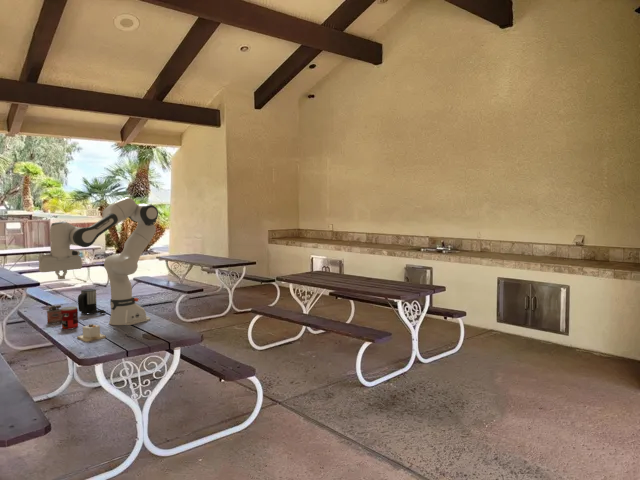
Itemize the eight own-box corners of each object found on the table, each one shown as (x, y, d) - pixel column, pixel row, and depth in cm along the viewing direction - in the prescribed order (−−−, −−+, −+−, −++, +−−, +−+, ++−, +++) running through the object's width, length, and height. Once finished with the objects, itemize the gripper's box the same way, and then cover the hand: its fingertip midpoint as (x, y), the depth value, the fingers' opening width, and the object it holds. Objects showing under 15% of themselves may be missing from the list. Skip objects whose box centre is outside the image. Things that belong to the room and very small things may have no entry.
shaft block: (97, 334, 248) (96, 321, 248) (106, 337, 242) (105, 324, 241) (77, 338, 241) (76, 324, 240) (85, 341, 234) (85, 327, 234)
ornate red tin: (47, 324, 270) (46, 307, 269) (46, 323, 273) (46, 306, 272) (63, 322, 275) (62, 305, 274) (62, 321, 277) (61, 304, 277)
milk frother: (83, 311, 303) (83, 288, 302) (110, 310, 306) (109, 287, 304) (76, 316, 289) (75, 292, 288) (104, 315, 292) (103, 291, 291)
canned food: (60, 327, 263) (59, 307, 262) (76, 324, 268) (75, 305, 267) (63, 330, 257) (62, 310, 256) (79, 327, 262) (79, 308, 262)
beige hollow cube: (92, 333, 245) (92, 323, 245) (100, 335, 242) (99, 324, 242) (83, 336, 240) (82, 325, 240) (90, 337, 237) (89, 327, 237)
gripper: (40, 254, 236) (42, 282, 237) (82, 251, 252) (83, 277, 252) (36, 253, 240) (37, 280, 241) (77, 251, 256) (78, 276, 257)
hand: (61, 279), depth 247 cm, fingers closed
